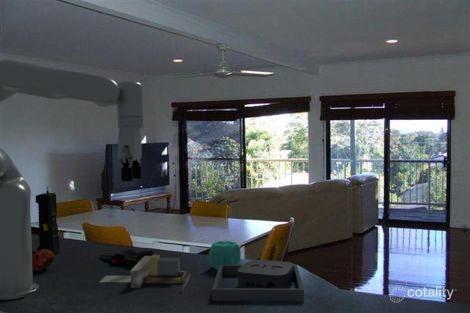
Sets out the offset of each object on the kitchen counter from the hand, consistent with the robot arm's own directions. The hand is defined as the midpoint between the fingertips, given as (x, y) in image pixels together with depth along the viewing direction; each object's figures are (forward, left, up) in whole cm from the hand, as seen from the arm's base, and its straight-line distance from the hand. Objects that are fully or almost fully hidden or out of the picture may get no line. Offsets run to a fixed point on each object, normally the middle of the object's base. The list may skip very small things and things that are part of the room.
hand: (131, 179), depth 143 cm
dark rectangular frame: (+38, -7, -30) cm, 49 cm away
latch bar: (+12, -5, -29) cm, 32 cm away
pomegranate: (-32, +8, -31) cm, 45 cm away
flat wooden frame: (+4, -5, -30) cm, 31 cm away
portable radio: (-40, +29, -31) cm, 58 cm away
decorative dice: (+27, +13, -31) cm, 43 cm away
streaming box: (+40, -4, -31) cm, 51 cm away
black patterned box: (-5, +16, -31) cm, 35 cm away
